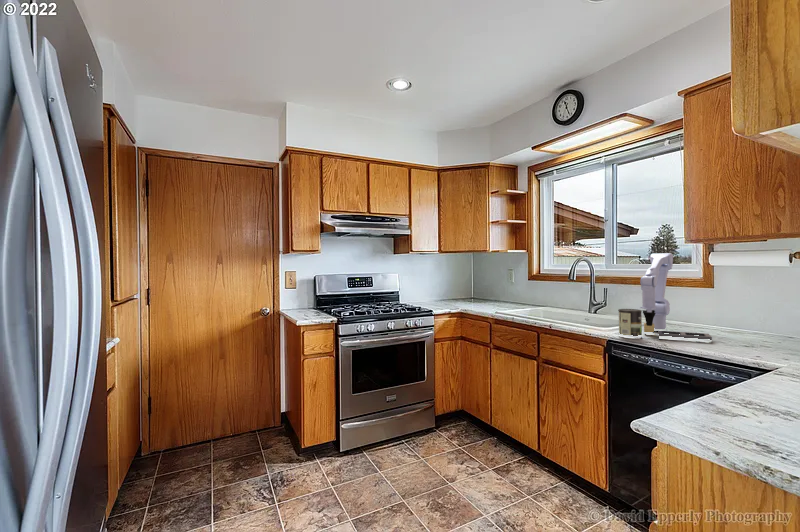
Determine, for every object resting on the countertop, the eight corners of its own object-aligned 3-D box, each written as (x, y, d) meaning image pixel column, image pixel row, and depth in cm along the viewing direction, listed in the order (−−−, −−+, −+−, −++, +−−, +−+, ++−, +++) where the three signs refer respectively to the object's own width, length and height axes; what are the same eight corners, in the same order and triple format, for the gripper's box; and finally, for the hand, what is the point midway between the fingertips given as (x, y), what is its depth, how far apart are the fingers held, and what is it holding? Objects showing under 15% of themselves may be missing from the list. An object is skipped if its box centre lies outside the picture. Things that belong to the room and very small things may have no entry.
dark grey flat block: (658, 336, 198) (658, 330, 198) (708, 339, 187) (708, 333, 187) (659, 339, 190) (659, 333, 190) (712, 343, 179) (711, 337, 179)
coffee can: (641, 336, 198) (641, 309, 198) (642, 340, 189) (641, 311, 189) (618, 334, 204) (618, 308, 204) (618, 338, 195) (617, 310, 195)
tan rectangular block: (644, 333, 205) (643, 322, 205) (654, 334, 203) (653, 323, 203) (644, 335, 202) (644, 323, 202) (654, 336, 199) (654, 324, 199)
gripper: (639, 297, 211) (639, 322, 211) (639, 299, 198) (640, 326, 198) (655, 298, 207) (655, 323, 207) (656, 300, 194) (656, 327, 194)
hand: (649, 324), depth 202 cm, fingers open, 7 cm apart
